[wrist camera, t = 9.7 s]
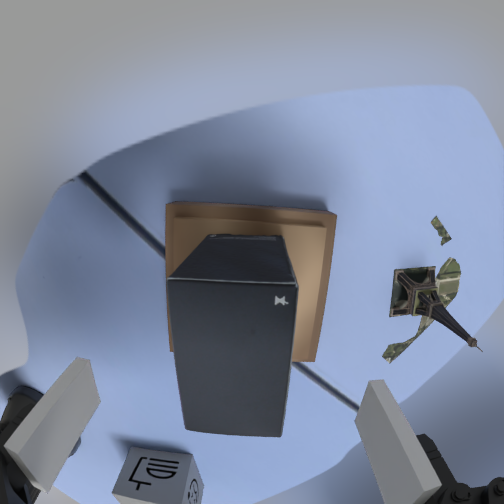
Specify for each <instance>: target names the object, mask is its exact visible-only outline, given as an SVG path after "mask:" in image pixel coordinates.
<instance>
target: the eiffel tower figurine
mask: <svg viewBox="0 0 504 504" xmlns="http://www.w3.org/2000/svg"><path fill="white" fill-rule="evenodd" d="M431 224H432V225H433V226H434V228H435V229H436V230H438V234H439V236H441V237H442V241H441V245H442V246H443V244H444V243H446V242H448V241H449V240H451V237H450V235H449V234H448V232H447V231H446V229H445V228H444V227H443V225H442V224H441V222H440V221H439V219H438V218H437V216H436V217H435V218H434V219H433V220H432V221H431ZM435 267H436V266H432V267H420V268H408V269H395V270H394V278H393V289H392V298H391V306H390V314H389V317H394V316H402V315H409V314H411V315H412V316H418V315H422V318H421V322H420V326H419V329H418V332H417V334H416V336H415V337H413V338H411V339H409V340H407V341H406V342H403V343H396V344H391V345H388V348H387V349H386V351H385V352H384V354H383V356H382V357H383V358H384V359H385V360H386V361H388V362H389V363H391V362H392V361H393V360H394V359H395V358H397V357H398V356H399V355H400V354H401V353H402V352H403V351H404V350H405V349H406V348H407V347H408V346H409V345H410V344H411V343H412V342H413V341H414V340H415V339H416V338H417V337H418V336H419V335H420V334H421V333H422V332H423V331H424V330H425V329H426V328H427V327H428V326H429V325H430V324H431V323H432V322H433V321H434V320H436V321H438V322H440V323H441V324H443V325H444V326H446V327H447V328H449V329H450V330H451V331H453V332H454V333H455V334H457V335H458V336H460V337H461V338H462V339H464V340H465V341H466V342H467V343H468V344H469V346H470V347H477V344H476V343H477V340H476V339H475V338H472V337H471V336H470V335H469V334H468V333H467V332H466V331H465V330H464V329H463V328H462V327H461V326H460V324H459V323H458V322H457V321H456V320H455V319H454V318H453V317H452V316H451V315H450V314H449V312H448V311H447V310H446V309H445V308H446V307H447V306H448V305H449V303H450V302H451V301H452V300H453V299H454V298H455V296H456V294H457V292H458V288H459V280H460V275H461V271H460V265H459V264H458V263H457V262H456V259H453V258H450V257H449V259H448V260H447V261H446V262H445V263H444V265H443V266H442V267H441V269H440V271H439V273H438V275H437V277H436V278H435ZM477 348H478V347H477ZM478 349H480V348H478ZM480 350H481V349H480ZM481 351H482V350H481Z"/></svg>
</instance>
